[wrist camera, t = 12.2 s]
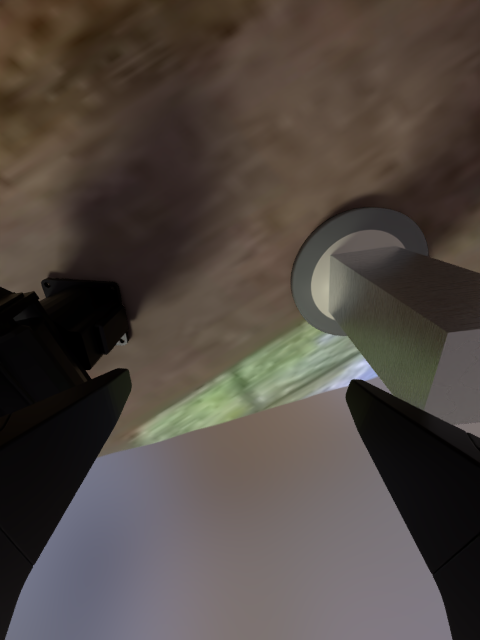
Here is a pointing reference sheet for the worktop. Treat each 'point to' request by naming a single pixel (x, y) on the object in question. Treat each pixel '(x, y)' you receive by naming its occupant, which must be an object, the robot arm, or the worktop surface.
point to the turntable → (342, 237)
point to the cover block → (413, 326)
